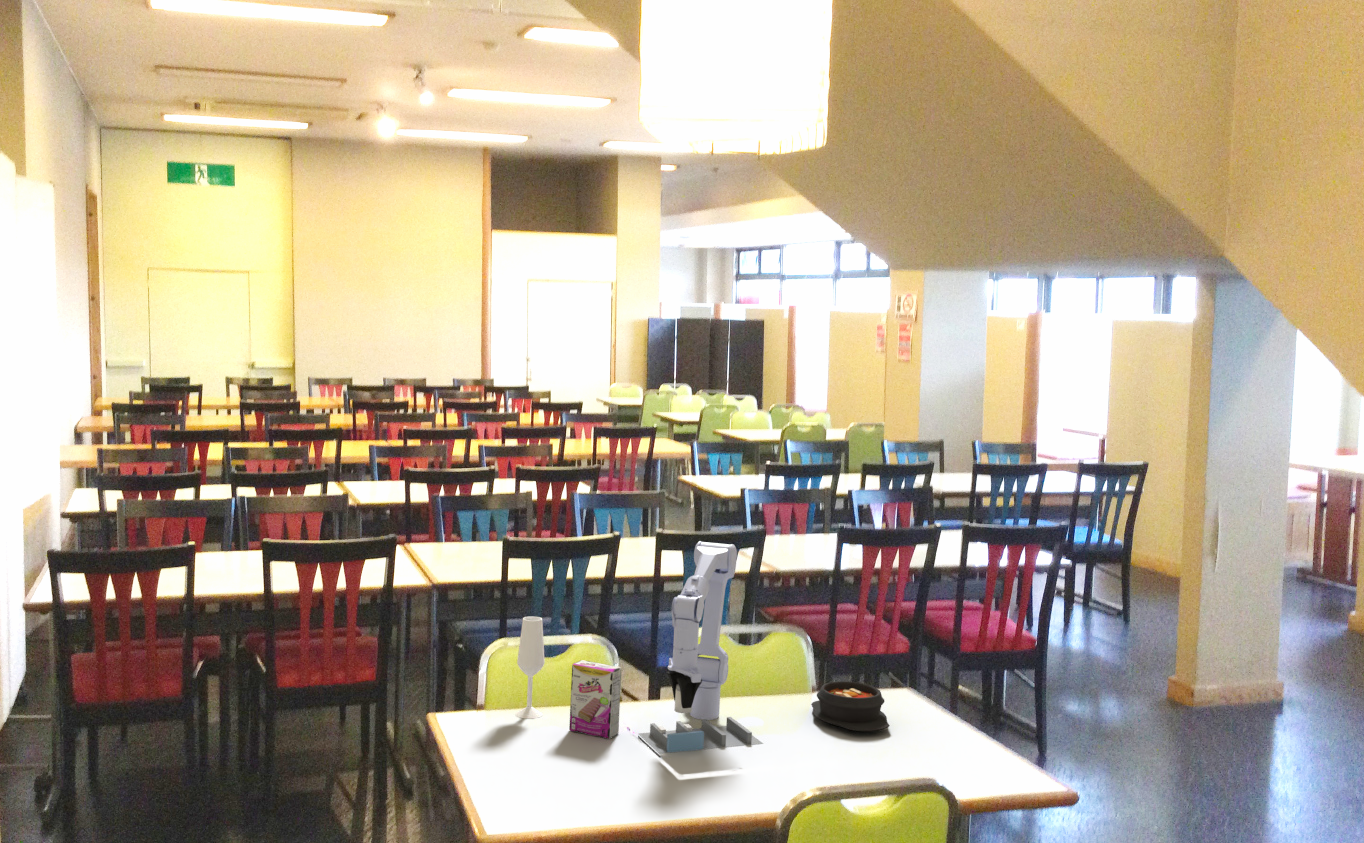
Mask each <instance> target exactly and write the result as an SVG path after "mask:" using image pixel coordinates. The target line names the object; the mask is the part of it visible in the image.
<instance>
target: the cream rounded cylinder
mask: <svg viewBox="0 0 1364 843" xmlns="http://www.w3.org/2000/svg"><path fill="white" fill-rule="evenodd" d="M674 712H676V713H679V714H690V712H692V707H691V708H682V704H681V692H680V687H679V684H677V685H676V694H675V701H674Z"/></svg>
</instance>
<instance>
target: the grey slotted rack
mask: <svg viewBox="0 0 1364 843" xmlns="http://www.w3.org/2000/svg"><path fill="white" fill-rule="evenodd" d="M637 738H638V739H639V740H640V741H641V742H642V743H643V744H644V745H645V746H646V747H647V748H648V747H649V748H648V749H649V750H651V751H652V752H653V753H654V754H655V756H657V757H658V758H661V757H662V756H661V755H660V754H669V753H678V752H679V753H680V752H691V751H700V750H711V749H720V748H721V749H723V748H732V747H742V746H745V747H746V746H755V745H762V744H764V743H763V742H762V741H760V740H759V739H758V738H757V737H755V736H754V735H753V733H752V731H751V730H750V729H748V728H746V727H745V726H744V725H742V724H741V723H739V722H738V721H737V720H736V719H735V718H733V717H732V716H726V725H722V726H721V725H720V726H719V725H717V726H715V725H714V724H713V723H712V722H710V720H706V719H702V720H701V727H697V728H693V726H692V725H690V724H689V723H683V722H682V721H681V720H679V721H678V720H677V721H676V723H675V730H667V729H666V728H665V727H664V726H663V725H662V726H659V725H657V724H656V723H655V722H653V723H650V726H649V732H642V733H641V732H639V733H638V735H637ZM661 759H662V758H661Z"/></svg>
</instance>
